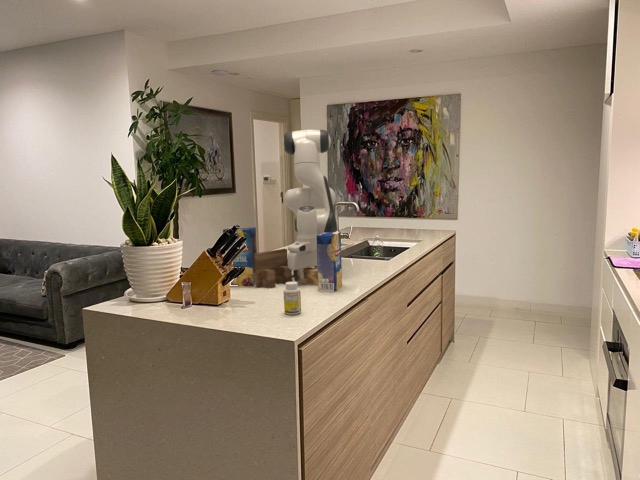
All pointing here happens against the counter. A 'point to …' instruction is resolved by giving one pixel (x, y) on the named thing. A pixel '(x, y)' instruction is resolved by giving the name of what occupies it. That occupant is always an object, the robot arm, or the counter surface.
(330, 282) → the beverage box
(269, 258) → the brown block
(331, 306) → the counter surface
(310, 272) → the rail
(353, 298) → the counter surface
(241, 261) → the juice carton
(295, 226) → the robot arm
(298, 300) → the supplement bottle
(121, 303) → the counter surface
